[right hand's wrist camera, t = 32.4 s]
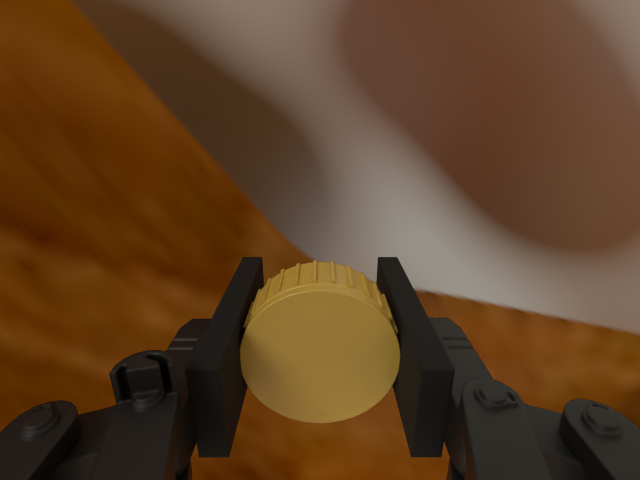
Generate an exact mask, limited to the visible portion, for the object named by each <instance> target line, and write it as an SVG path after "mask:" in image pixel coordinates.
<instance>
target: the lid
mask: <svg viewBox="0 0 640 480" xmlns="http://www.w3.org/2000/svg"><path fill="white" fill-rule="evenodd" d="M243 328H246V329H245V332H244V335H243V338H242V341H241V345H240V360H241V370H242V375H243V378H244V380H245V382H246V384H247V386H248V387H249V389H250V390H251V392H252V393H253V394H254V395H255V396H256V398H257V399H258V400H259V401H261V402H262V403H263V404H264V405H265V406H267V407H268V408H270V409H271V410H273V411H274V412H276V413H278V414H280V415H282V416H285V417H288V418H290V419H294V420H298V421H302V422H308V423H331V422H338V421H342V420H346V419H350V418H352V417H355V416H358V415H360V414H362V413H364V412H366V411H367V410H369V409H370V408H372V407H373V406H375V405H376V404H377V403H378V402H380V401H381V400H382V399H383V398H384V396H385V395H386V394H387V393H388V392H389V390H390V389H391V387H392V386H393V384H394V382H395V380H396V377H397V374H398V372H399V363H400V345H399V341H398V338H397V335H396V334H398V329H397V326H396V324H395V321H394V318H393V315H392V312H391V309H390V307H389V306H388V303H387V300H386V297H385V295H384V294H381V293H380V291H379V290H378V287H377V284H376V283H375V282H373V283H372V282H371V281H370V280H369V279H367V278H366V277H365V274H364V273H363V272H362V273H361V274H360V273H359V272H357V271H355V270H353V269H351V268H350V266H349V265H347V266H343V265H339V264H334V262H333V261H330V263H327V262H317V260H314V261H313V263H306V264H301V265H300V263H297V264H296V266H294V267H291V268H289V269H287V270H284V269H282V270H281V273H279V274H278V275H276V276H275V277H274V278H272V279H271V278H269V279H268V281H267V284H266V285H265V286H264V287H263V289H262V290H261V289H259V290H258V292H257V295H256V298H255V301H254V302H253V301H252V303H251V306H250V309H249V312H248V315H247V317H246V320H245V323H244V326H243Z"/></svg>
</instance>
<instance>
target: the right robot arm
mask: <svg viewBox="0 0 640 480" xmlns="http://www.w3.org/2000/svg"><path fill="white" fill-rule="evenodd" d="M263 287H264V280H263V264H262V257H243V259H242V260H241V262H240V264H239V266H238V268H237V270H236V272H235V274H234V276H233V278H232V280H231V282H230V284H229V286H228V288H227V290H226V291H225V293H224V295H223V297H222V299H221V301H220V303H219V305H218V307H217V309H216V311H215V313H214V315H213V317H212V319H192V320H190V321H189V322H188V323H187V324H185V325H184V326H183V327H181V328H180V329H179V331H178V333H177V334H176V336H175V337H174V340H173V341H172V342H171V344H170V345H169V347H168V350H166V352H164V351H160V350H147V351H143V352H139V353H136V354H133V355H131V356H129V357H127V358H125V359H123V360H122V361H121V362H119V363H118V364H116V365H115V366H114V368H113V369H112V370H111V372H110V373H109V375H110V379H111V383H112V387H113V391H114V395H115V399H116V405H115V406H112V407H108V408H105V409H101V410H97V411H92V412H88V413H84V414H80V415H78V412H77V409H76V407H75V406H74V405H73V404H72V403H71V402H68V401H62V400H60V401H52V402H47V403H44V404H41V405H38V406H36V407H33V408H31V409H30V410H28V411H26V412H24V413H22V414H21V415H19V416H18V417H17V418H16V419H14V420H13V421H12V422H11V423H9V424H8V425H7V426H6V427H5V428H4V429H3V430H2V431H1V432H0V480H192V467H191V461H190V458H191V456H192V453H193V450H194V447H195V445H196V442H197V447H198V454H199V457H229V455H230V451H231V447H232V443H233V440H234V436H235V432H236V428H237V424H238V420H239V417H240V413H241V409H242V405H243V401H244V397H245V394H246V390H247V384H246V382H245V380H244V378H243V375H242V370H241V360H240V345H241V341H242V338H243V335H244V332H245V329H246V328H243V326H244V323H245V320H246V317H247V315H248V312H249V309H250V306H251V303H252V301H253V302H254V301H255V298H256V295H257V292H258V290H259V289H261V290H262V289H263ZM377 287H378V290H379V291H380V293H381V294H384V295H385V297H386V300H387V303H388V306H389V307H390V309H391V312H392V315H393V318H394V321H395V324H396V326H397V329H398V334H396V335H397V338H398V341H399V345H400V363H399V372H398V374H397V377H396V380H395V382H394V384H393V389H394V393H395V397H396V400H397V404H398V408H399V412H400V416H401V420H402V423H403V427H404V431H405V435H406V439H407V443H408V446H409V450H410V454H411V457H441V455H442V449H443V443H444V442H445V445H446V448H447V450H448V453H449V456H450V461H449V467H448V473H447V478H446V480H640V430H639V429H638V428H637V427H636V426H635V425H634V424H633V423H632V422H631V421H630V420H628V419H627V418H626V417H625V416H623V415H622V414H621V413H619V412H618V411H616V410H614V409H612V408H610V407H608V406H607V405H604V404H601V403H598V402H595V401H592V400H584V399H576V400H571V401H569V402H568V403H567V404H566V405H565V406H564V409H563V413H558V412H554V411H550V410H546V409H541V408H537V407H533V406H530V405H527V404H524V403H523V401H522V400H521V398H520V396H519V395H518V394H517V393H516V392H515V391H514V390H512V389H511V388H510V387H509V386H507V385H505V384H503V383H501V382H499V381H496V380H494V379H493V378H492V376H491V375H490V373H489V371H488V370H487V368H486V367H485V365H484V364H483V362H482V361H481V359H480V357H479V356H478V354H477V353H476V351H475V350H474V349H473V346H472V345H471V343H470V342H469V340H467V337H466V336H465V334H464V332H463V331H462V329H461V328H460V327H459V326H458V325H457V324H455V323H454V322H453V321H451V320H450V319H449V318H428V316H427V314H426V312H425V310H424V308H423V307H422V305H421V303H420V301H419V299H418V297H417V295H416V293H415V291H414V289H413V287H412V285H411V283H410V281H409V279H408V277H407V276H406V274H405V272H404V270H403V268H402V266H401V264H400V262H399V260H398V258H397V257H378V268H377Z"/></svg>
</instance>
